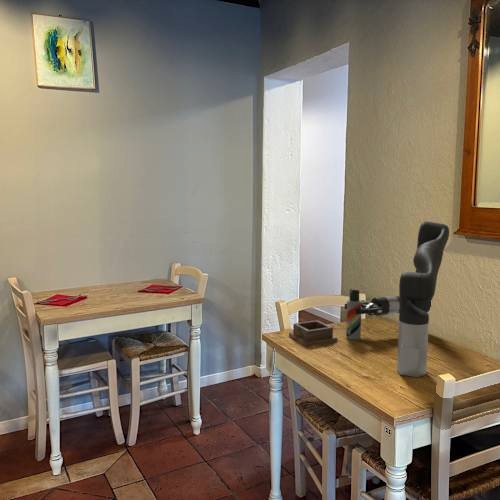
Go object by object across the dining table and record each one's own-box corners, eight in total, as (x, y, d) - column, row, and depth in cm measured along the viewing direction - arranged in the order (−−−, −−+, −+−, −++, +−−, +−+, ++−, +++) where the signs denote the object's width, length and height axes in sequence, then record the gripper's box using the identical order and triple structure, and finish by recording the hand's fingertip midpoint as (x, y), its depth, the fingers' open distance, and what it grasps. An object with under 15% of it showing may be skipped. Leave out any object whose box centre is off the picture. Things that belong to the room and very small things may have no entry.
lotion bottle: (343, 337, 196) (344, 289, 193) (350, 334, 200) (352, 286, 197) (355, 340, 192) (357, 291, 189) (363, 337, 196) (364, 289, 193)
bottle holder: (337, 341, 191) (337, 328, 190) (306, 346, 185) (306, 332, 184) (318, 331, 203) (318, 319, 203) (289, 336, 198) (289, 323, 197)
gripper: (375, 293, 205) (341, 295, 200) (395, 300, 191) (359, 304, 186) (375, 310, 206) (341, 313, 201) (395, 319, 192) (359, 323, 187)
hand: (350, 309), depth 194 cm, fingers open, 8 cm apart
